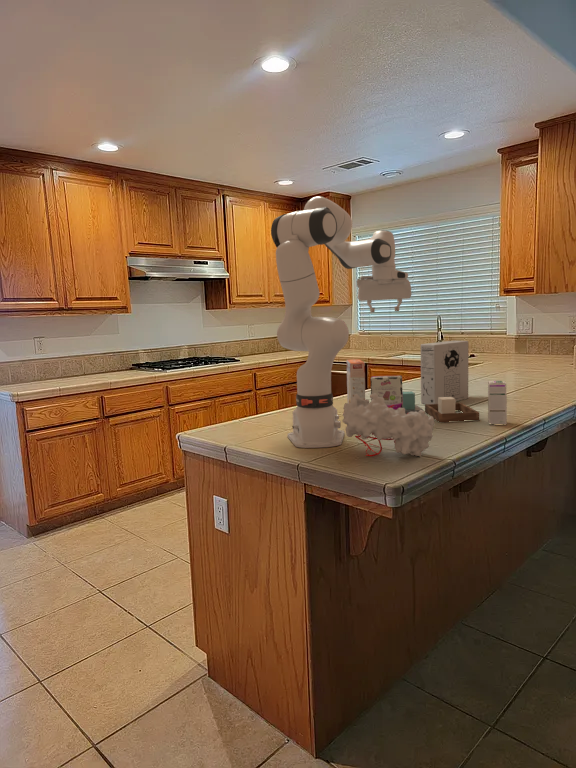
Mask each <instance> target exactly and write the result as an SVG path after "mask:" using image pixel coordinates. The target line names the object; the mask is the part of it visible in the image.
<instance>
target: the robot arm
mask: <svg viewBox="0 0 576 768" xmlns="http://www.w3.org/2000/svg"><path fill="white" fill-rule="evenodd" d="M352 229H353V220H352V217H351V216H350V214H349V213H348V212H347V211H346V210H345V209H344V208H343V207H341V206H340V205H338V203H335V202H334V201H333V200H331V199H329V198H327V197H324V196H320V195H319V196H314V197H312V198H310V199H309V200H307V202H306V203H305V205H304V208H303V210H296V211H292V212H289V213H283V214H281V215H279V216H277V217H275V218H274V219H273V221H272V223H271V227H270V235H271V239H272V242H273V244H274V245H275V247H276V248H275V249H276V250H275V263H276V268H277V274H278V278H279V279H278V280H279V282H280V287H281V291H282V295H283V299H284V305H285V306H284V311H285V312H284V316H283V319H282V321H281V322H280V323H279V325H278V327H277V331H276V337H277V338H276V339H277V341H278V343H279V345H280V346H281V347H282V348H283V349H287V350H290V351H294V352H308V355H307V358H306V362H305V363H303V364H301V366H299V367H298V368H297V371H296V387H297V388H296V390H297V393H296V394H295V400H296V408H295V409H294V410H293V411H292V432H289V433H287V435H286V436H287V438H288V439H289V441H290V442H292V444H293V445H294V446H295V447H296V448H303V449H305V448H306V449H307V448H308V449H310V448H311V449H314V448H315V449H316V448H330V447H336V446H341V445H342V443H343V440H344V437H345V431H344V430H341V429H340V428H341V422H342V421H341V420H339V419H340V415H339V414H338V409H337V408H336V407H335V406H334V396H333V392H332V368H333V364H334V361H335V358H336V356H337V355H338V354H339V352H340V351H341V350H342V349H343V348H345V346H346V345H347V343H348V340H349V337H350V333H349V328H348V325H347V324H346V322H345V321H344V320H343V319H341V318H337V317H331V316H312V307H313V306H314V305H315V304H316V303H317V302H318V301H319V298H320V294H321V293H320V288H319V286H318V285H319V284H318V281H317V276H316V272H315V269H314V265H313V262H312V258H311V256H310V253H309V251H310V250H309V249H310V247H315V246H318V245H320V246H322V245H324V246H325V247H326V248H327V249H328V250H329V251H330V252H331V253H332V254H333V255H334V256H335V257H336V258H337V259H338V261H339V262H340V264H341V265H342V266H343V267H344V268H345V269H347V270H351V269H356V268H361V267H362V268H363V267H369V266H371V272H372V273H371V275H367V276H365V275H362V276H360V277H359V278H357V280H356V286H357V288H358V289H357V290H358V291H357V300H358V301H362V302H366V304H367V306H368V308H369V310H370V311H369V312H370V313H375V312H376V310H375V307H373V306H372V303H373V302H372V301H381V300H384V301H385V300H397V305H396V306H394V312H400V307H401V305H402V303H403V300H405V299H410V298H411V297H412V287H411V286H412V284H411V282H410V280H409V279H408V278H409V273H408V272H406V271H401V270H399V269H396V263H395V259H396V258H395V257H396V243H395V236H394V233H393V232H391V231H389V230H384V229H383V230H381V229H380V230H376V231H374V232H373V234H372V236H371V237H369V238H368V239H367V238H366V239H360V240H354V241H353V240H352V241H347V239H348V238H349V236H350V235H351V232H352V231H353V230H352Z"/></svg>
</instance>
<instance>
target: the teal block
mask: <svg viewBox="0 0 576 768" xmlns="http://www.w3.org/2000/svg"><path fill="white" fill-rule="evenodd" d="M415 405H416V393H415V392H414V391H403V408H405V410H406V409H415Z"/></svg>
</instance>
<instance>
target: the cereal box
mask: <svg viewBox="0 0 576 768" xmlns="http://www.w3.org/2000/svg"><path fill="white" fill-rule="evenodd" d="M438 397H453V398H454V399H455V402H458V401H457V400H460V401H463V400H462V399H464V400H467V398H468V399H469V341H468V340H445V341H438V342H429V343H421V344H420V403H421V404H422V403H423V405H425V404H438Z"/></svg>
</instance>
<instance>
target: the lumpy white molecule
mask: <svg viewBox="0 0 576 768" xmlns="http://www.w3.org/2000/svg"><path fill="white" fill-rule="evenodd" d="M369 398H370V399H371V398H372V401H371V400H369V399H368V398H367V399H366V398H365V400H364V399H363V398H361V397H359V396H358V394H355V395H354V397H352V399H351V403H350V404H348V402H346V403H343V404H344V405H343V413H342V416H343V419H342V423H344V424H345V425H346V426H345V434H346V436H347V437H348V438H352V437H353V436H354V435H355V436H354V437H355V438H356V439H357V440H359V441H361V442H362V443H363V445H364V446H365V447H367V448H366V450H365V454H366V455H365V456H370V457H375V456H378V455H380V454H381V452H382V451H383V445H382V443H381V441H393V443H394V449H395V452H396V453H398V454H401V453H402V455H404V456H405V455H411V456H414V455H415V456H414V457H417V456H421V457H422V452H424V451H425V450H426V449H428V448H429V447H430V444H429V442H430V441H431V440H432V438H433V437H434V435H433V431H434V426H435V419H434V418H433V417H432V416H430V415H428V414H427V413H426V412H425V410H424V409H423V410H424V411H423V410H420V411H419V412H416V411H415V412H409V413H407V414H405V408H398V409H397V410H394V409H393V408H392V407H393V406H394V405H392V406H389V407H387V406H386V405H385V403H384V398H383V397H378V395H377V394H376V393H374V394H371V393H370V395H369ZM390 407H391V408H390ZM367 439H370V440H377V441H378V443H379V445H375V444H373V443H370V442H369V443H367V442H366V441H365V440H367ZM369 445H371V446H374V447H376V448H380V450H379V451H378V452H376V451H374V450H373V449H372V448H371V446H369ZM368 450H369V451H371V450H372V452H373V453H374V454H369V453H368Z"/></svg>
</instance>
